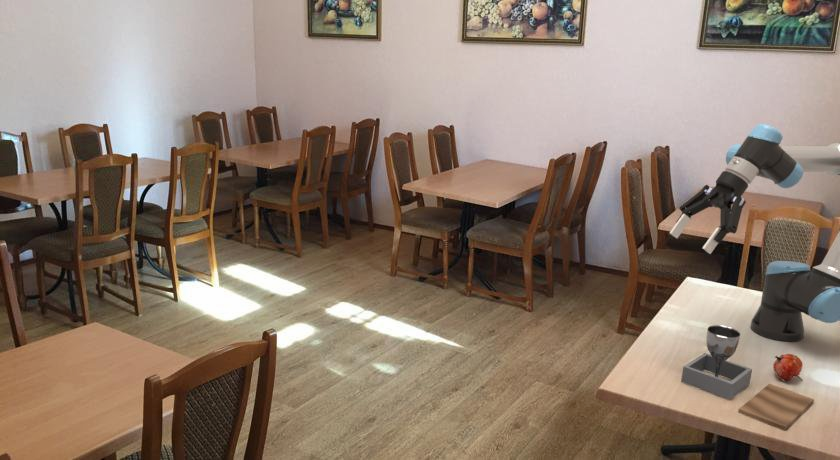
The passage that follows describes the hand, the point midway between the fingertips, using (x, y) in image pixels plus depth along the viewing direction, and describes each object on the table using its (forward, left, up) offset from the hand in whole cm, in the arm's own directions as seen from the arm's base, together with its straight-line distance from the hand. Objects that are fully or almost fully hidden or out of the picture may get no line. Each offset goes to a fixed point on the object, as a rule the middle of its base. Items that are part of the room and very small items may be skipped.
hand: (689, 243), depth 188 cm
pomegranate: (-16, +25, -36) cm, 47 cm away
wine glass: (+2, +13, -36) cm, 38 cm away
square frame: (+2, +13, -36) cm, 38 cm away
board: (+3, +29, -36) cm, 46 cm away
